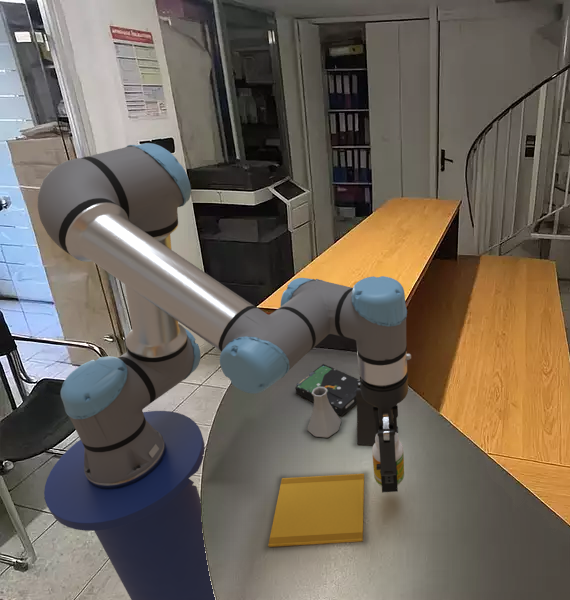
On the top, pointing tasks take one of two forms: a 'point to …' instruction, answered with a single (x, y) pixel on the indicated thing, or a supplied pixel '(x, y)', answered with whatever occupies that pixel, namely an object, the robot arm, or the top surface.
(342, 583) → the top surface
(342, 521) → the yellow tray
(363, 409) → the phone stand
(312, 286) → the robot arm
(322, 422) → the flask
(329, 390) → the disk drive
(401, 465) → the supplement bottle
